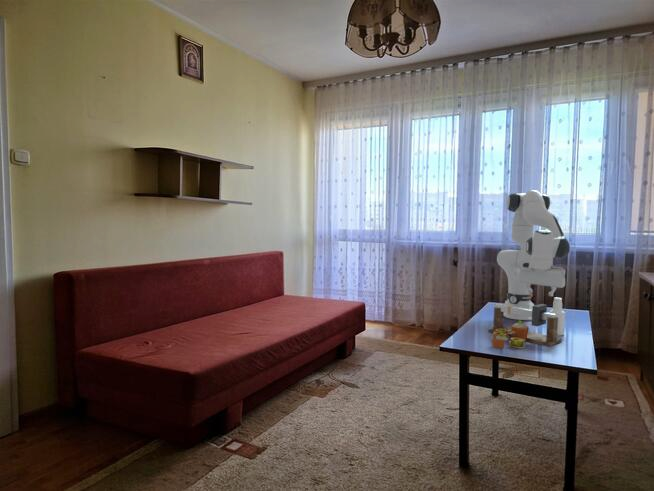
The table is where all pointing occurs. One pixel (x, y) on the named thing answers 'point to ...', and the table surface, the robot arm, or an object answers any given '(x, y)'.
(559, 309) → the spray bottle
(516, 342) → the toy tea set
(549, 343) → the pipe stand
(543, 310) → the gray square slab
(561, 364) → the table surface
